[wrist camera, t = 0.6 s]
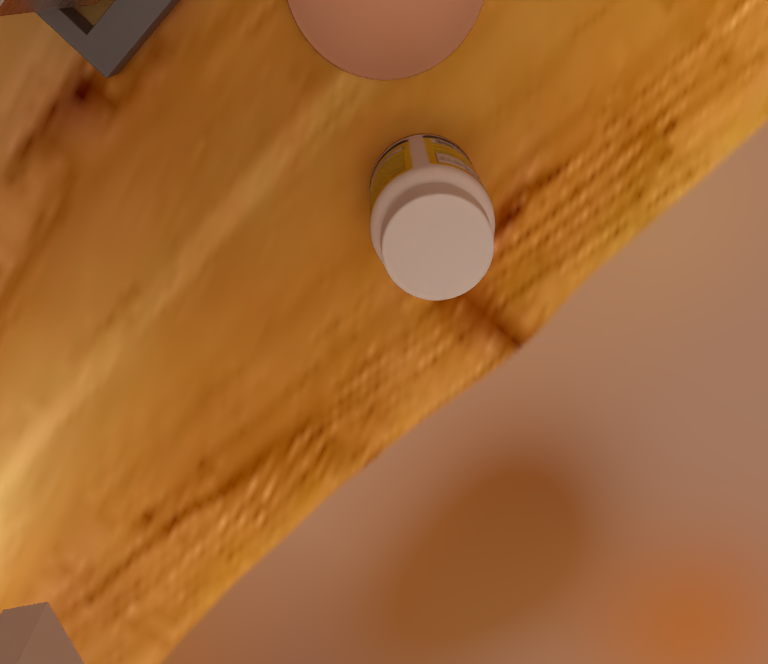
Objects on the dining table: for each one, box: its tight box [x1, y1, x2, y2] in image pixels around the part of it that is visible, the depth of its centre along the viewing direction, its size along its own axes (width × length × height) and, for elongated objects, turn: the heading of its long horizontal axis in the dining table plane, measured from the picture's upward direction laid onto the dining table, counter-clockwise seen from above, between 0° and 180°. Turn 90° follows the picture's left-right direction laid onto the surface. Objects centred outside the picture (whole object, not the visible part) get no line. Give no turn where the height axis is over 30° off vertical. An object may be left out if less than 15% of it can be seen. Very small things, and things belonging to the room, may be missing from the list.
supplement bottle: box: [370, 134, 495, 300], centre depth 29 cm, size 5×5×8 cm
